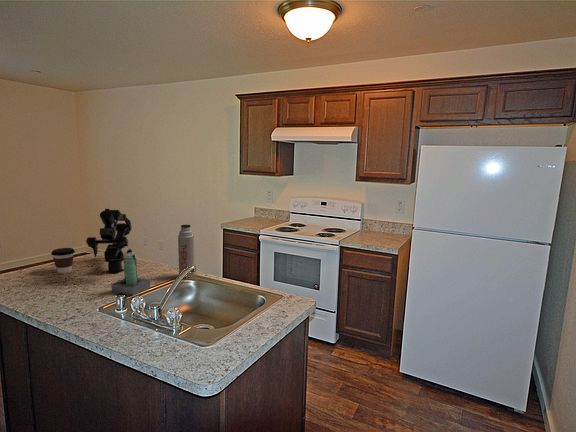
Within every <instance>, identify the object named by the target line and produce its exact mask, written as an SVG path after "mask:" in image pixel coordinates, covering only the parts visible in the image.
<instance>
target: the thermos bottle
mask: <svg viewBox="0 0 576 432" xmlns="http://www.w3.org/2000/svg"><path fill="white" fill-rule="evenodd" d="M194 239H195V238H194V234H193V231H192V230H191V224H181V225H180V230H179V232H178V235H177V244H178V245H177V247H178V248H177V249H178V250H177V252H178V275H179V274H180V273H181V272H182V271H183V270H184V269H186V268H187V267H189V266H194V267H195V244H194V242H195V240H194ZM193 275H194V276H195V271H194V272H191V273H189V274H188V275H187V276H186V277H188V276H193Z"/></svg>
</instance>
